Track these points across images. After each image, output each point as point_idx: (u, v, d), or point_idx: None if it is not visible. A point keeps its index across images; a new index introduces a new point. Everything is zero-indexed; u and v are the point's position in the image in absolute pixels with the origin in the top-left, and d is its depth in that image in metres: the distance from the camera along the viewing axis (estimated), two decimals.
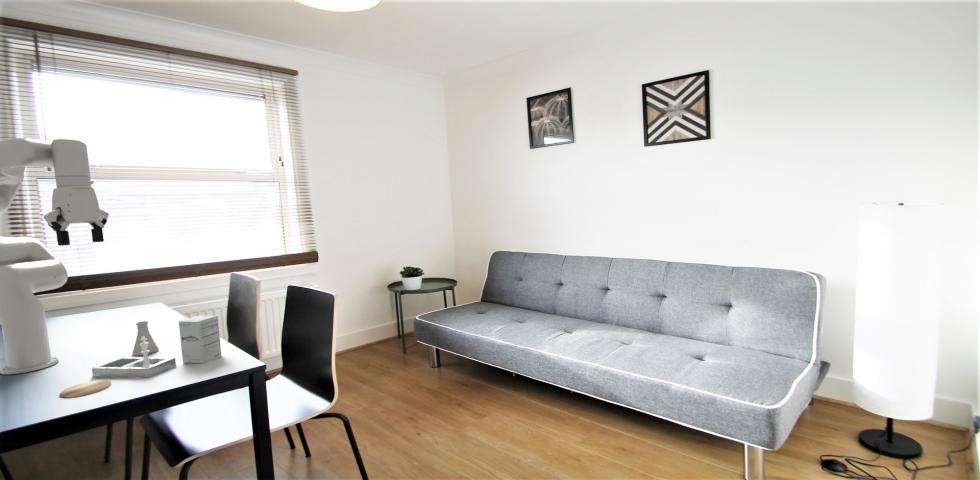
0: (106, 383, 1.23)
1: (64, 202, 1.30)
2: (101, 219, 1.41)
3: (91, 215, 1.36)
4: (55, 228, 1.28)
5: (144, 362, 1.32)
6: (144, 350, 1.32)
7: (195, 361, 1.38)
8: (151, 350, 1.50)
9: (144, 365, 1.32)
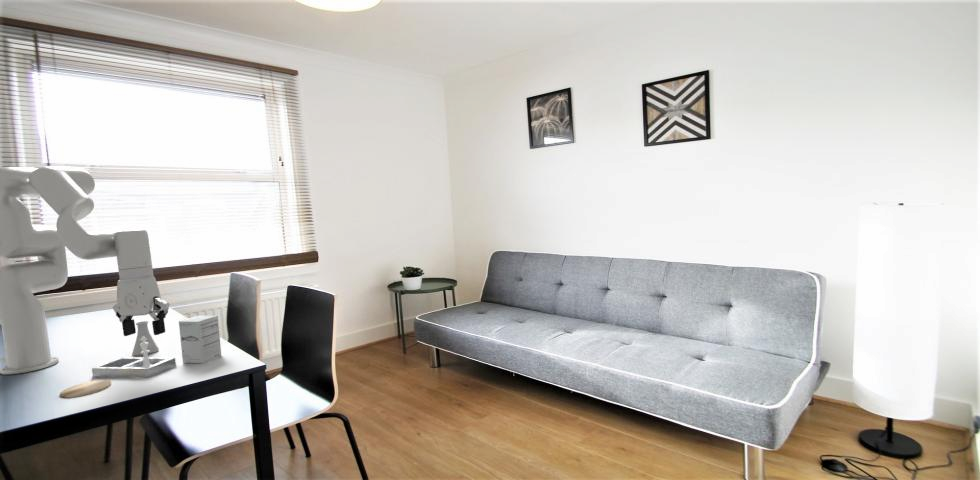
0: (106, 383, 1.23)
1: (157, 290, 1.32)
2: None
3: None
4: (163, 316, 1.31)
5: (144, 362, 1.32)
6: (144, 350, 1.32)
7: (195, 361, 1.38)
8: (151, 350, 1.50)
9: (144, 365, 1.32)
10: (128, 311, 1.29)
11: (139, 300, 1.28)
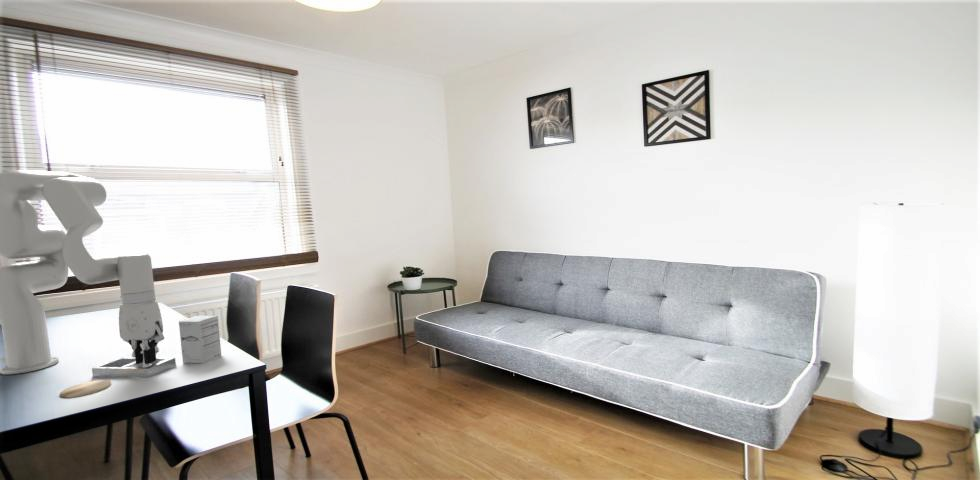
0: (106, 383, 1.23)
1: (159, 315, 1.32)
2: None
3: None
4: (154, 345, 1.32)
5: (144, 362, 1.32)
6: None
7: (195, 361, 1.38)
8: None
9: (144, 365, 1.32)
10: (130, 335, 1.30)
11: (141, 325, 1.29)
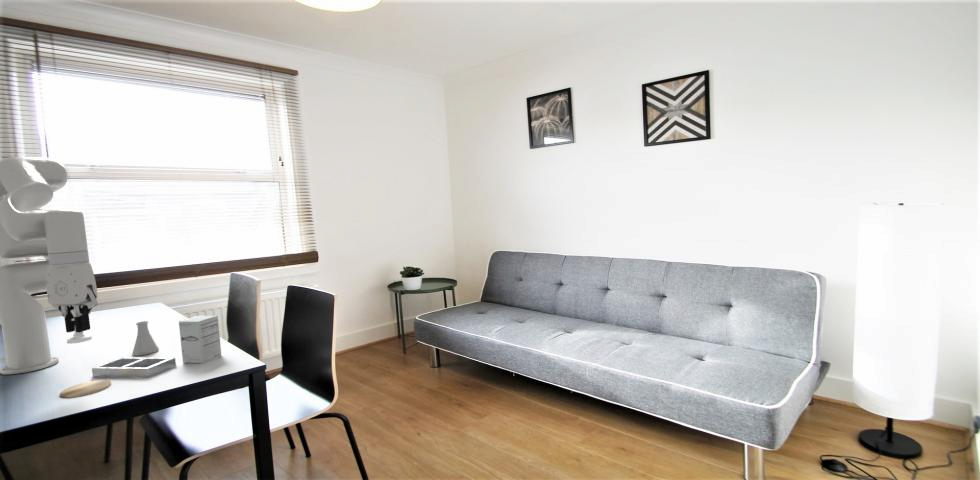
0: (106, 383, 1.23)
1: (92, 278, 1.20)
2: None
3: None
4: (86, 312, 1.19)
5: (75, 330, 1.19)
6: None
7: (195, 361, 1.38)
8: (151, 350, 1.50)
9: (75, 334, 1.19)
10: (58, 300, 1.17)
11: (70, 288, 1.16)
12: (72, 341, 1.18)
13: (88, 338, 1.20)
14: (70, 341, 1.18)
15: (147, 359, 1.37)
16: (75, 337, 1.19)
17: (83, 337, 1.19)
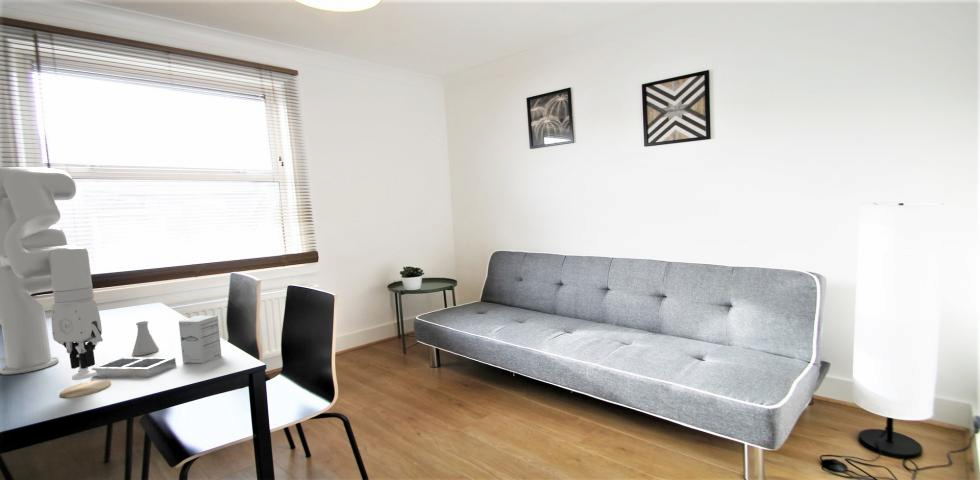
0: (106, 383, 1.23)
1: (97, 314, 1.20)
2: None
3: None
4: (91, 348, 1.20)
5: (80, 366, 1.20)
6: None
7: (195, 361, 1.38)
8: (151, 350, 1.50)
9: (80, 370, 1.20)
10: (63, 337, 1.17)
11: (75, 325, 1.17)
12: (77, 377, 1.19)
13: (93, 374, 1.21)
14: (75, 378, 1.19)
15: (147, 359, 1.37)
16: (79, 374, 1.19)
17: (87, 373, 1.20)
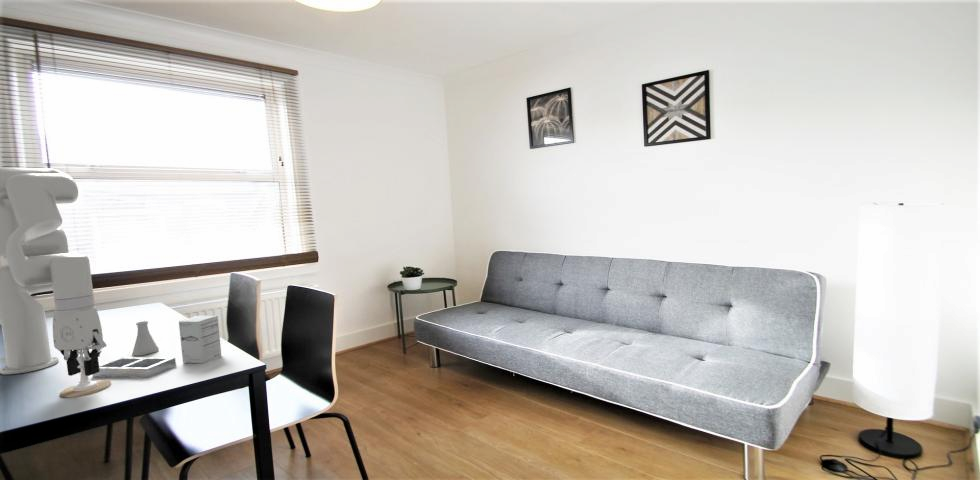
0: (106, 383, 1.23)
1: (98, 322, 1.20)
2: None
3: None
4: (96, 355, 1.20)
5: (81, 377, 1.20)
6: (81, 364, 1.20)
7: (195, 361, 1.38)
8: (151, 350, 1.50)
9: (81, 381, 1.20)
10: (64, 345, 1.18)
11: (76, 333, 1.17)
12: (78, 389, 1.19)
13: (94, 385, 1.21)
14: (76, 389, 1.19)
15: (147, 359, 1.37)
16: (80, 385, 1.20)
17: (88, 384, 1.20)
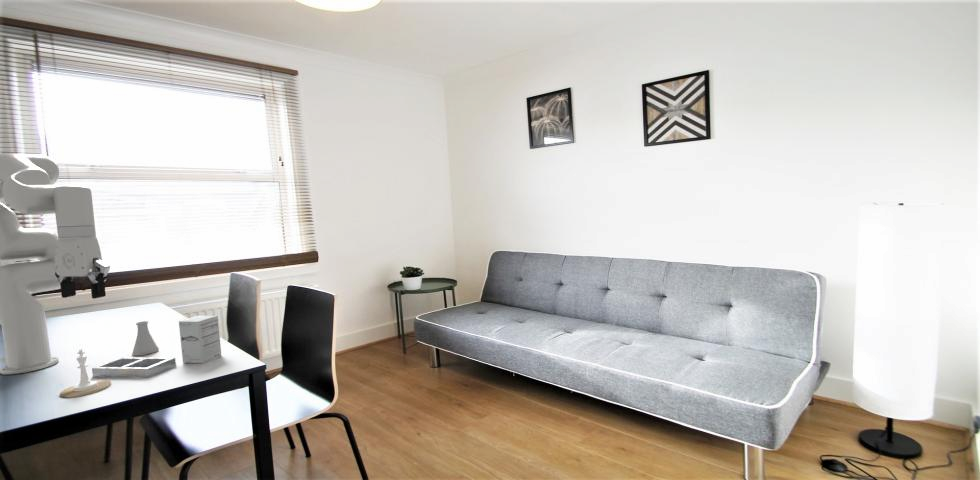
0: (106, 383, 1.23)
1: (98, 252, 1.25)
2: None
3: None
4: (102, 279, 1.24)
5: (81, 377, 1.20)
6: (81, 364, 1.20)
7: (195, 361, 1.38)
8: (151, 350, 1.50)
9: (81, 381, 1.20)
10: (66, 271, 1.22)
11: (77, 260, 1.21)
12: (78, 389, 1.19)
13: (94, 385, 1.21)
14: (76, 389, 1.19)
15: (147, 359, 1.37)
16: (80, 385, 1.20)
17: (88, 384, 1.20)
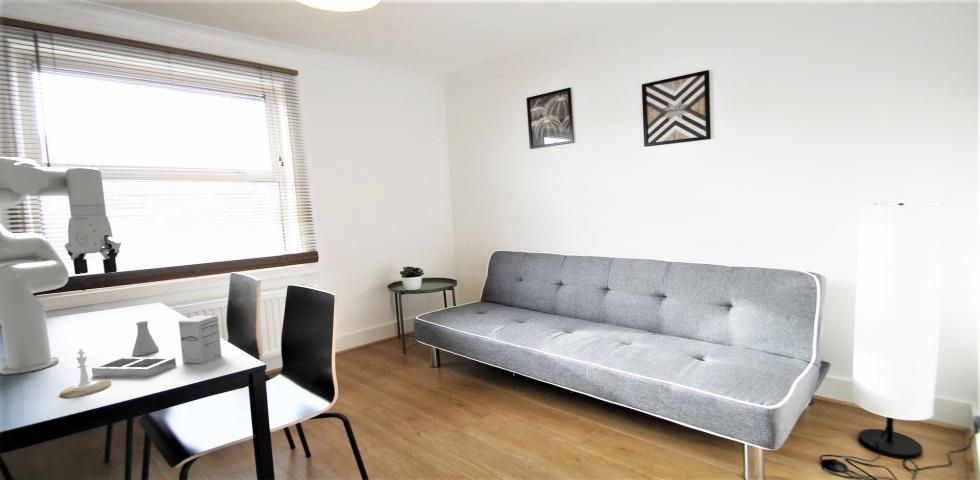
0: (106, 383, 1.23)
1: (109, 230, 1.33)
2: None
3: None
4: (114, 255, 1.32)
5: (81, 377, 1.20)
6: (81, 364, 1.20)
7: (195, 361, 1.38)
8: (151, 350, 1.50)
9: (81, 381, 1.20)
10: (79, 248, 1.30)
11: (90, 237, 1.29)
12: (78, 389, 1.19)
13: (94, 385, 1.21)
14: (76, 389, 1.19)
15: (147, 359, 1.37)
16: (80, 385, 1.20)
17: (88, 384, 1.20)
